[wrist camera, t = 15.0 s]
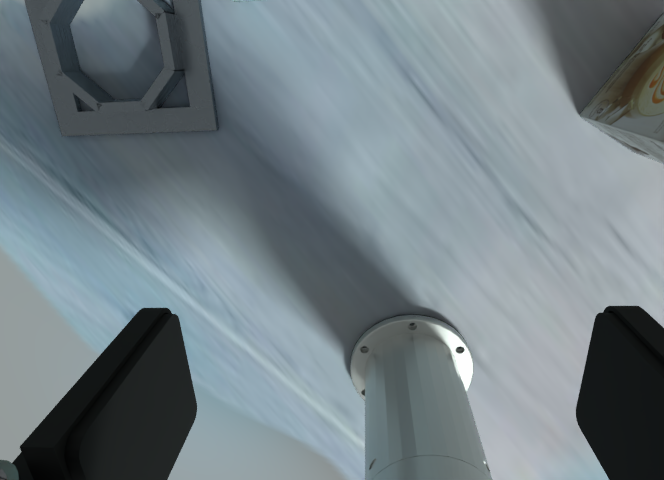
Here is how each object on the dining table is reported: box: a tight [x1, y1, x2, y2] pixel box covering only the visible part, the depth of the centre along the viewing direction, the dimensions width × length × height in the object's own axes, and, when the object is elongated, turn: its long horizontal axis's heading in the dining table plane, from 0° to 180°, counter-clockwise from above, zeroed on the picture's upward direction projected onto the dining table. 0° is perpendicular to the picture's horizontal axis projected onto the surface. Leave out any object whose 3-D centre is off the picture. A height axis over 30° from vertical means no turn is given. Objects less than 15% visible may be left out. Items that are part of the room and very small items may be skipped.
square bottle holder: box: [25, 0, 219, 136], centre depth 35 cm, size 14×14×2 cm
